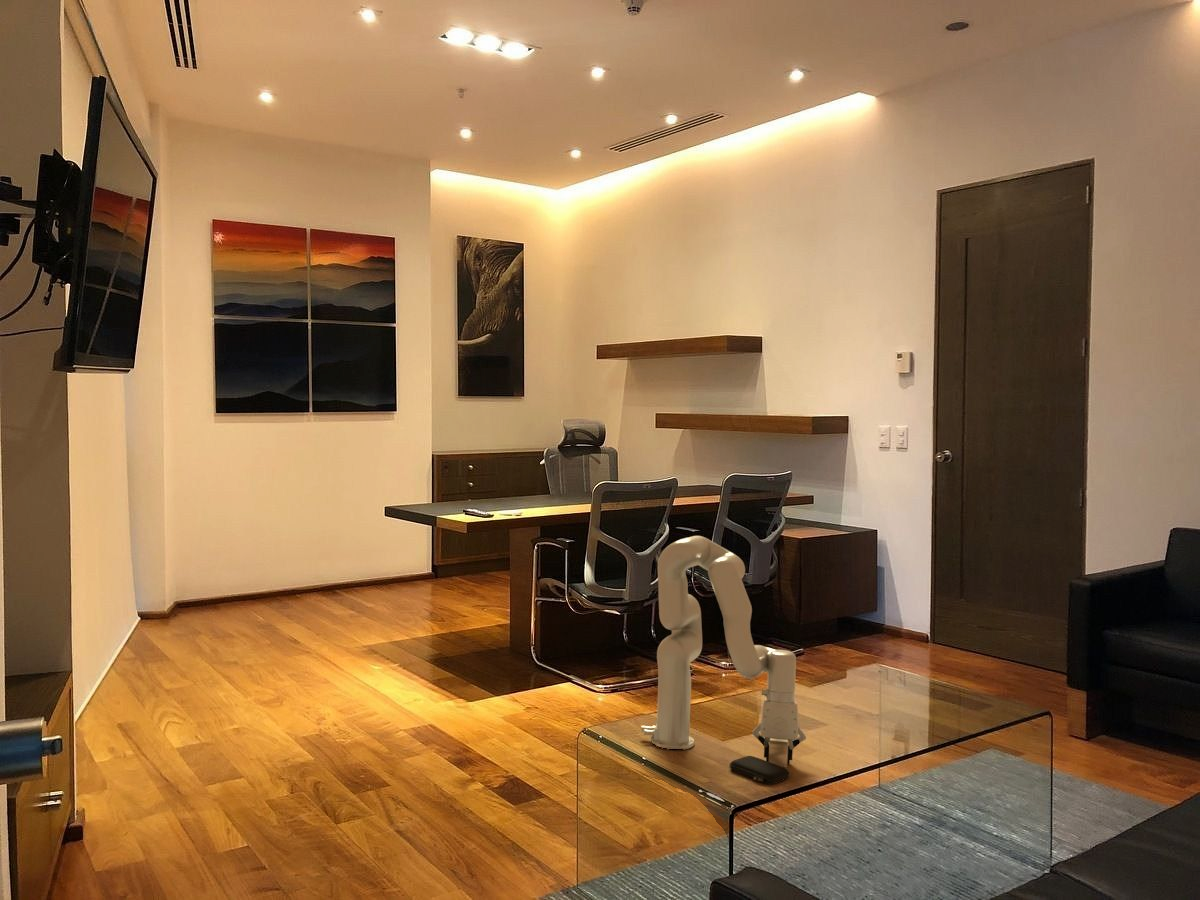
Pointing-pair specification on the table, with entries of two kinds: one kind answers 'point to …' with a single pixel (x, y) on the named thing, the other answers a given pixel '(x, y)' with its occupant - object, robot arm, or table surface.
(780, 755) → the birch block
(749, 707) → the table surface
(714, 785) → the table surface
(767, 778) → the carrying case or bag
